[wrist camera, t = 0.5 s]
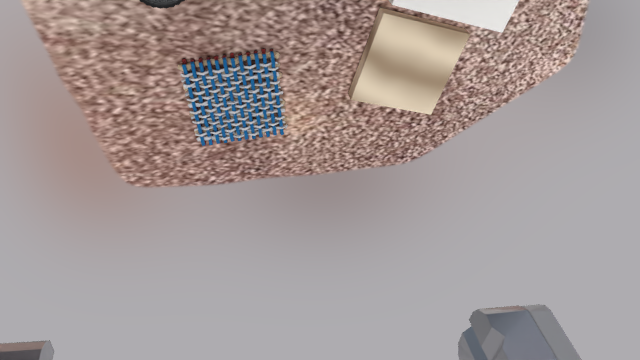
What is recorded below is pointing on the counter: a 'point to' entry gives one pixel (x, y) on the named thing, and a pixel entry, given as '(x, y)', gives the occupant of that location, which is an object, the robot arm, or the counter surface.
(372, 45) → the pad
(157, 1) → the supplement bottle
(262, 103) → the woven mat
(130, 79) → the counter surface
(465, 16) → the block
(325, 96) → the counter surface
